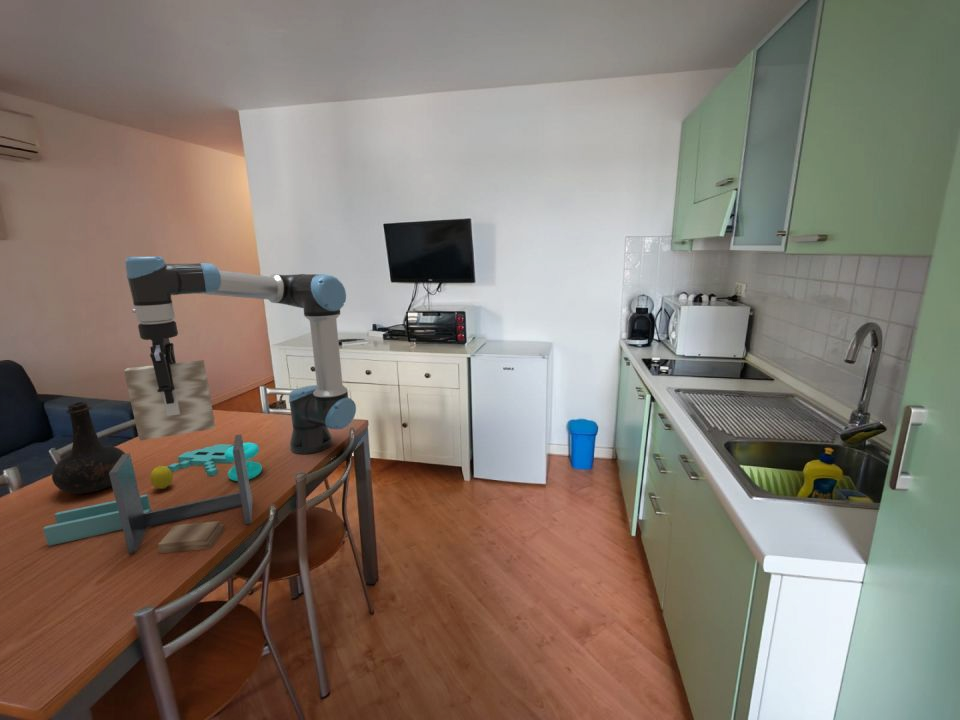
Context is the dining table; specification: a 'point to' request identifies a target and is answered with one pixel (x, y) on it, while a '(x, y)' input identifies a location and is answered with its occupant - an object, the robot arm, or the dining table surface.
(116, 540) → the dining table surface
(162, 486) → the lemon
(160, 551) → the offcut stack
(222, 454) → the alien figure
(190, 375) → the birch sheet
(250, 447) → the turquoise spool
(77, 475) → the glass bottle
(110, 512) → the teal open channel
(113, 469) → the rack
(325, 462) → the dining table surface
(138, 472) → the dining table surface
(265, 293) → the robot arm
